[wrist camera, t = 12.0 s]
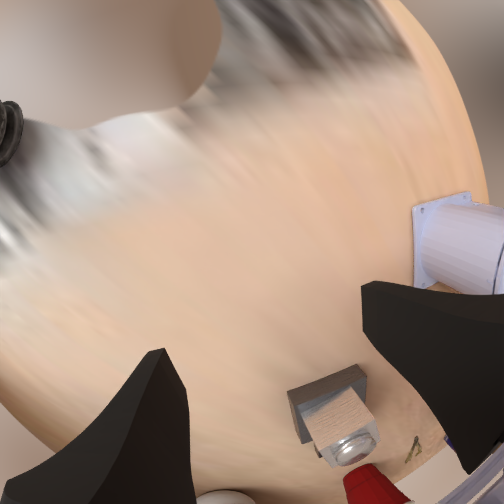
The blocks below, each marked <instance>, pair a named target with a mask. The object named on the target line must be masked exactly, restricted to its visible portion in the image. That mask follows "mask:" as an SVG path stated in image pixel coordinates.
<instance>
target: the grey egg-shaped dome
mask: <svg viewBox="0 0 504 504" xmlns="http://www.w3.org/2000/svg"><path fill="white" fill-rule="evenodd" d="M196 501H197V504H256V503H255V502H254V501H253V500H252V499H251V498H250V497H249V496H247V495H245V494H243V493H240V492H236V491H229V490H220V491H213V492H209V493H206V494H203V495H201V496H200V497H198V498H197V499H196Z"/></svg>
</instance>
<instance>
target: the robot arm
mask: <svg viewBox="0 0 504 504" xmlns="http://www.w3.org/2000/svg"><path fill="white" fill-rule="evenodd" d="M412 218H413V236H414V287H411V286H406V285H400V284H395V283H389V282H383V281H372V282H370V283H367V284H365V285H362V286H361V296H362V319H363V332H364V333H365V335H366V336H367V338H368V339H369V340H370V342H371V343H372V344H373V346H374V347H375V348H376V350H377V351H378V352H379V353H380V354H381V355H382V356H383V357H384V358H385V359H386V360H387V361H388V362H389V363H390V364H391V365H392V366H393V367H394V368H395V369H396V370H397V371H398V372H399V373H400V374H401V375H402V376H403V377H404V378H405V379H406V380H407V381H408V382H409V383H410V384H411V385H412V386H413V387H414V388H415V389H416V390H417V392H418V393H419V394H420V396H421V397H422V398H423V400H424V401H425V402H426V404H427V405H428V406H429V408H430V409H431V411H432V412H433V414H434V415H435V417H436V418H437V420H438V421H439V423H440V424H441V426H442V428H443V429H444V431H445V433H446V434H447V436H448V438H449V440H450V441H451V443H452V445H453V447H454V450H455V452H456V454H457V456H458V458H459V460H460V462H461V465H462V467H463V469H464V470H465V471H466V473H467V474H468V475H470V474H471V473H472V472H473V471H474V470H476V468H478V467H479V466H480V465H481V464H482V463H483V461H485V460H486V459H487V458H488V457H489V456H490V455H491V454H492V453H493V452H494V451H495V450H496V448H497V447H498V446H499V445H500V444H501V443H502V445H501V446H500V447H499V448H498V449H497V450H496V451H495V452H494V453H493V455H492V456H491V457H490V458H489V459H488V460H487V461H486V462H485V463H484V464H483V465H482V466H481V467H480V468H478V469H477V470H476V471H475V472H474V473H473V474H472V475H471V476H470V477H469V478H468V479H466V480H465V481H464V482H463V483H462V484H461V485H459V486H458V487H457V488H456V489H455V490H453V491H452V492H451V493H450V494H448V495H447V496H446V497H445V498H443V499H442V500H440V501H439V502H438V503H436V504H466V503H467V502H468V501H469V500H471V499H472V498H473V497H474V496H475V495H476V494H477V493H479V491H481V490H482V489H483V488H484V487H485V486H486V485H487V484H488V483H489V482H490V481H491V480H492V479H493V478H494V477H495V476H496V475H497V474H498V472H499V471H500V470H501V469H502V468H503V467H504V208H501V207H497V206H492V205H487V204H483V203H478V202H472V198H471V193H470V192H469V191H466V192H462V193H458V194H455V195H451V196H447V197H444V198H440V199H437V200H433V201H429V202H426V203H422V204H419V205H415V206H414V207H413V209H412ZM437 282H441V283H443V284H445V285H447V286H449V287H451V288H453V289H455V290H457V291H459V292H461V293H463V294H455V293H447V292H439V291H433V290H427V289H426V288H427V287H429V286H431V285H433V284H435V283H437ZM0 504H197V501H196V496H195V491H194V486H193V481H192V475H191V464H190V420H189V407H188V400H187V393H186V388H185V387H184V385H183V383H182V381H181V379H180V377H179V375H178V373H177V372H176V370H175V368H174V366H173V364H172V362H171V360H170V358H169V356H168V354H167V352H166V350H165V348H161V349H157V350H153V351H149V352H148V353H147V354H146V355H145V356H144V358H143V359H142V360H141V362H140V363H139V364H138V366H137V367H136V368H135V370H134V371H133V373H132V374H131V375H130V377H129V378H128V379H127V381H126V382H125V383H124V385H123V386H122V388H121V389H120V390H119V391H118V393H117V394H116V395H115V396H114V398H113V399H112V400H111V401H110V403H109V404H108V405H107V406H106V408H105V409H104V410H103V411H102V412H101V413H100V415H99V416H98V417H97V418H96V419H95V420H94V421H93V422H92V423H91V424H90V425H89V426H88V427H87V428H86V429H85V430H84V431H83V432H82V433H81V434H80V435H79V436H77V437H76V438H75V439H74V440H73V441H71V442H70V443H69V444H68V445H67V446H65V447H64V448H63V449H62V450H60V451H59V452H58V453H56V454H55V455H54V456H52V457H51V458H49V459H48V460H46V461H44V462H43V463H41V464H40V465H38V466H36V467H34V468H33V469H31V470H29V471H27V472H25V473H23V474H20V475H18V476H16V477H14V478H12V479H9V480H8V481H7V482H6V485H5V487H4V491H3V494H2V498H1V501H0ZM473 504H504V469H503V475H502V477H501V478H499V479H498V480H497V481H496V482H495V483H494V484H493V485H492V486H491V487H490V488H489V489H488V490H486V492H484V493H483V494H482V495H481V496H480V497H479V498H478V499H477V500H476V501H475V502H474V503H473Z"/></svg>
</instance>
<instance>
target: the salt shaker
mask: <svg viewBox="0 0 504 504" xmlns="http://www.w3.org/2000/svg"><path fill="white" fill-rule="evenodd" d="M22 129H23V114H22V110H21V108H20V107H19V105H18V104H17V103H15V102H13V101H6V102H3V103H2V102H1V100H0V167H1V166H3V165H5V164H6V163H7V162H8V161H9V160H10V159H11V157H12V155H13V154H14V152H15V151H16V149H17V146H18V144H19V142H20V138H21V135H22Z"/></svg>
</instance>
